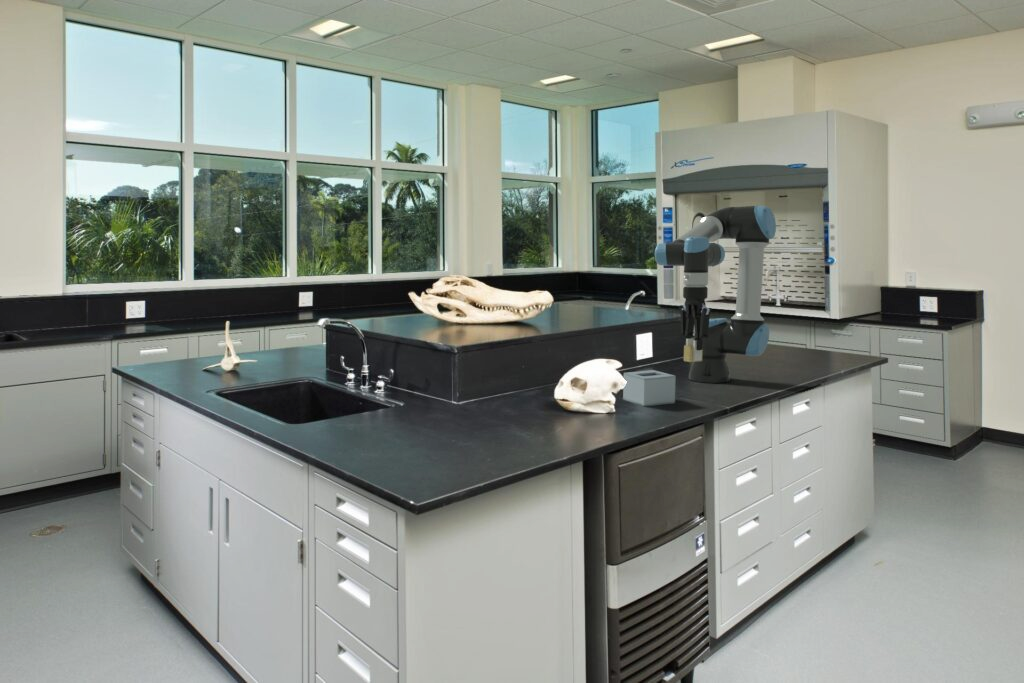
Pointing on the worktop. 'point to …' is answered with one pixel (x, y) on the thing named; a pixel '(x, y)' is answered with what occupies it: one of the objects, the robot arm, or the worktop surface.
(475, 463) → the worktop surface
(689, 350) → the block
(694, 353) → the robot arm
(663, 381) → the grey square hollow box
